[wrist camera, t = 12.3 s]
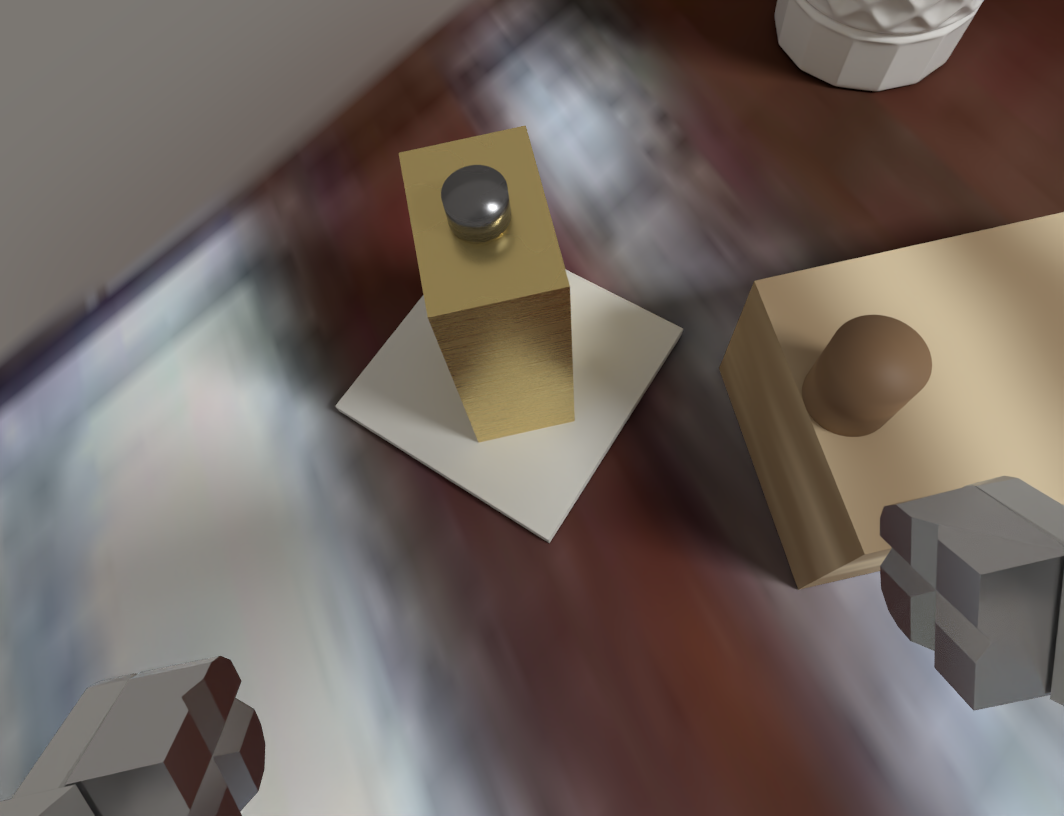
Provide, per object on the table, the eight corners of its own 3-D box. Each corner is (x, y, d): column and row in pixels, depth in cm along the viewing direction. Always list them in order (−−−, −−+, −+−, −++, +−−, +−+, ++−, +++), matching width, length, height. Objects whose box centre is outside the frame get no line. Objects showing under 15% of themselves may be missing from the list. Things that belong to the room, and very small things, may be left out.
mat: (480, 233, 25) (478, 225, 24) (681, 334, 23) (683, 328, 22) (339, 411, 22) (335, 406, 22) (549, 543, 20) (548, 540, 20)
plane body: (1144, 273, 22) (1370, 99, 16) (1281, 478, 20) (1622, 368, 13) (719, 368, 22) (773, 231, 16) (798, 589, 19) (905, 533, 13)
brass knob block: (543, 298, 23) (522, 97, 15) (574, 421, 21) (569, 264, 14) (454, 317, 23) (389, 127, 15) (478, 442, 21) (419, 297, 14)
